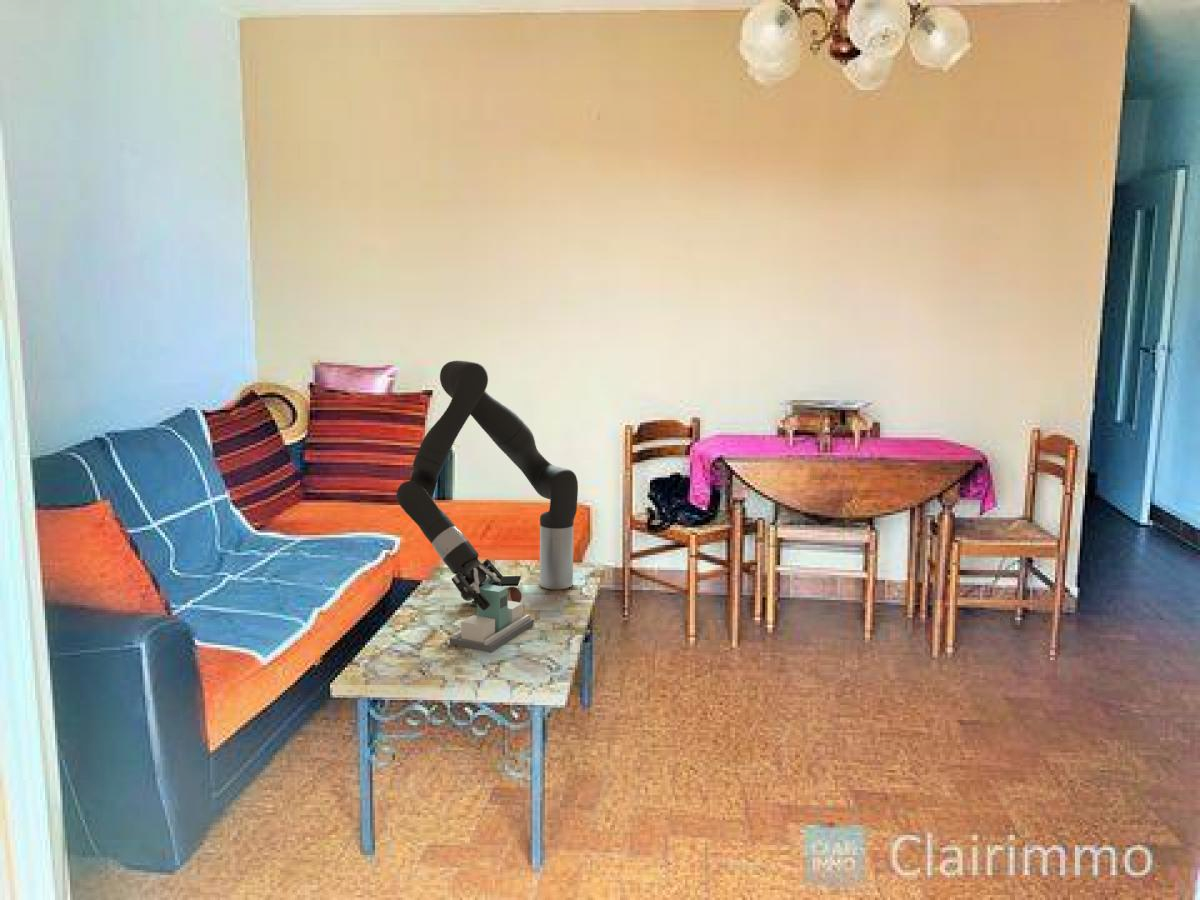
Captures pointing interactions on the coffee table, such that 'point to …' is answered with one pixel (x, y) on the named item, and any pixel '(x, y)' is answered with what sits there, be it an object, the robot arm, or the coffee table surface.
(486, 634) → the mounted blocks
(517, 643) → the coffee table surface
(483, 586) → the block
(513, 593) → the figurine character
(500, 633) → the rail board
